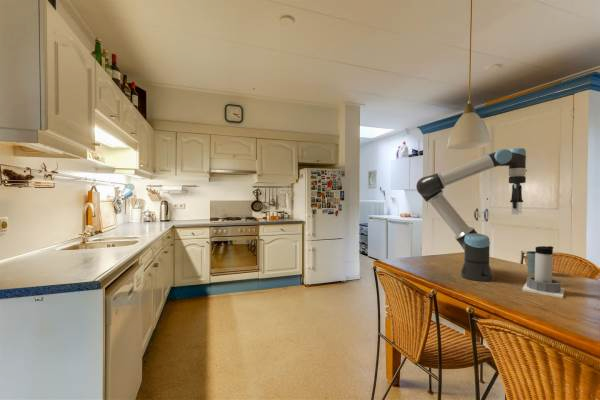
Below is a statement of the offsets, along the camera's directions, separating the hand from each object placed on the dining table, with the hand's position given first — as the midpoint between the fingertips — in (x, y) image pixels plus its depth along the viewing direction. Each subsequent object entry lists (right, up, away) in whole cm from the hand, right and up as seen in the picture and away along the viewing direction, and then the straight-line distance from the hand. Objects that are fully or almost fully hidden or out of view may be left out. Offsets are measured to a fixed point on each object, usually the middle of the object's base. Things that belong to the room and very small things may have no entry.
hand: (516, 214), depth 157 cm
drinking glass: (+16, -35, +5) cm, 38 cm away
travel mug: (-7, -34, -25) cm, 43 cm away
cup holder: (-7, -35, -25) cm, 44 cm away
